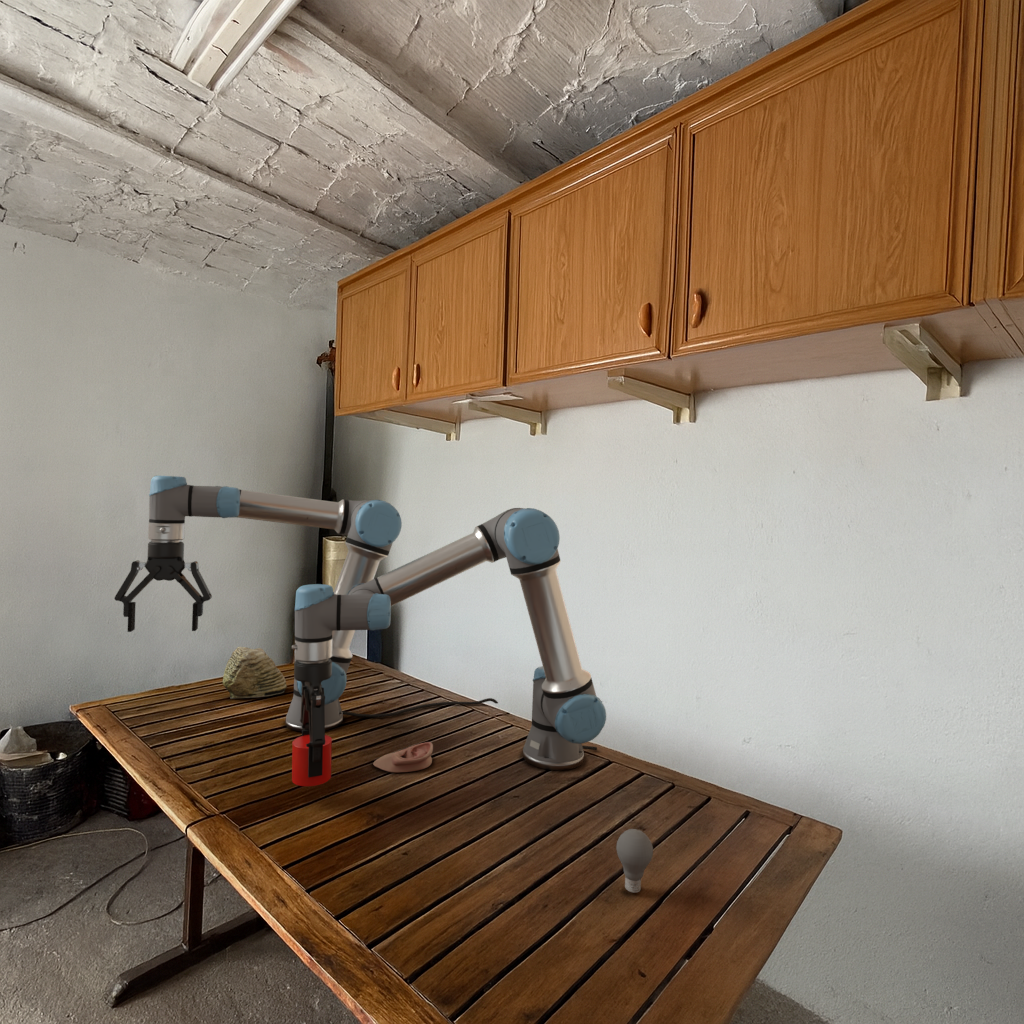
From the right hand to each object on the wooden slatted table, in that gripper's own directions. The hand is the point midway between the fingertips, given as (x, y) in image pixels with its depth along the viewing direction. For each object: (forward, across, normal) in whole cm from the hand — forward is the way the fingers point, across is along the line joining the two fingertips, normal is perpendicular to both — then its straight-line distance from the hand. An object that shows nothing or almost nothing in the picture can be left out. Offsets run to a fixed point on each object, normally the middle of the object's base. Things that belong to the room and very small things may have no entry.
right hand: (311, 767), depth 133 cm
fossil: (+6, -76, -5) cm, 76 cm away
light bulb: (+8, +52, +44) cm, 68 cm away
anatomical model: (+7, -10, +23) cm, 26 cm away
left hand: (-24, -35, -29) cm, 51 cm away
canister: (+2, 0, 0) cm, 2 cm away
